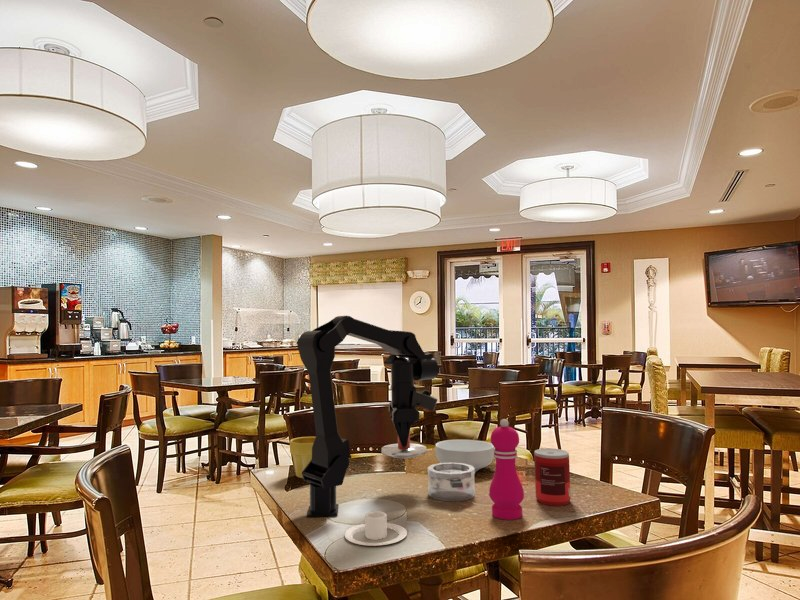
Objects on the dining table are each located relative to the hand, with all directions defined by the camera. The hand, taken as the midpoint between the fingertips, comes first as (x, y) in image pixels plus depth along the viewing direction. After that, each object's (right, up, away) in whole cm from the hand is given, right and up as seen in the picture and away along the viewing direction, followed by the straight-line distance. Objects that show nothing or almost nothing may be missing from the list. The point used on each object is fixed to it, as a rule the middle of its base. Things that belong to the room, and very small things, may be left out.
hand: (403, 445), depth 132 cm
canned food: (+34, -10, -11) cm, 37 cm away
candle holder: (-6, -10, -30) cm, 32 cm away
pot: (+11, -11, -5) cm, 16 cm away
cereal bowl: (+18, -12, +19) cm, 28 cm away
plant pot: (-26, -13, +15) cm, 33 cm away
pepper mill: (+22, -10, -20) cm, 31 cm away
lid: (0, -3, 0) cm, 2 cm away
